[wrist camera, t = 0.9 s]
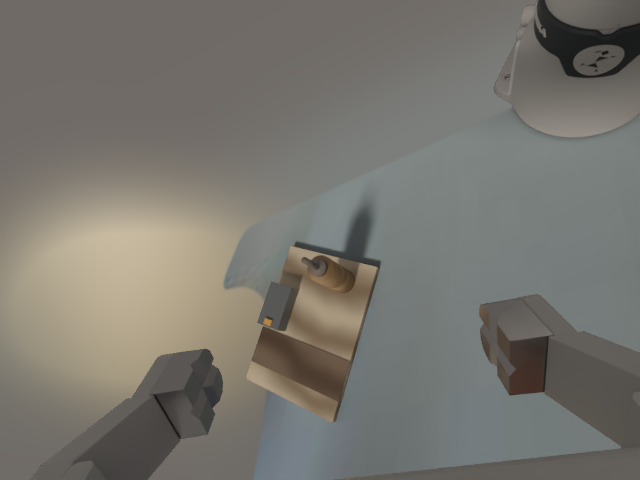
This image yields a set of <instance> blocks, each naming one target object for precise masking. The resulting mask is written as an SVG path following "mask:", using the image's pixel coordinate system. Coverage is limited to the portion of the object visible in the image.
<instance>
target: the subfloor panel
mask: <svg viewBox="0 0 640 480" xmlns="http://www.w3.org/2000/svg"><path fill="white" fill-rule="evenodd" d="M319 255H324V256H326V257H328V258H330V259H331V260H333V261H334V262H336V263H338V264H339V265H341V266H342V267H344V268H346V269H347V270H349V271H350V272H352V274H353V275H354V277H355V284H354V287H353V288H352V289H351V290H350V291H349V292H347V293H340V292H338V291H335V290H333V289H331V288H329V287H326V286H324V285H322V284H319V283H317V282H315V281H313V280H311V279H310V277H309V275H308V272H307V268H308V266H307V265H305V264H303V263H302V262H301V259H302V258H303V257H306V258H308V259H310V260H312V259H313V258H314V257H316V256H319ZM378 272H379V268H378V267H375V266H371V265H367V264H363V263H358V262H354V261H350V260H346V259H342V258H338V257H334V256H330V255H326V254H322V253H318V252H314V251H310V250H306V249H301V248H297V247H293V246H291V247H290V250H289V253H288V256H287V259H286V262H285V265H284V268H283V270H282V273H281V276H280V279H279V282H278V284H281V285H284V286H287V287H290V288H293V289H296V290H299V292H298V295H297V298H296V301H295V304H294V307H293V310H292V313H291V316H290V319H289V322H288V325H287V328H286V331H277V330H275V329H272V328H270V327H267V326H265V325H264V327H263V328H262V331H261V334H260V337H259V340H258V343H257V346H256V349H255V352H254V355H253V358H252V362H251V365H250V368H249V371H248V374H247V377H246V379H248V380H250V381H252V382H254V383H256V384H258V385H260V386H262V387H264V388H266V389H268V390H270V391H271V392H273V393H275V394H277V395H279V396H281V397H283V398H285V399H287V400H289V401H291V402H293V403H295V404H297V405H299V406H301V407H303V408H305V409H307V410H309V411H311V412H313V413H315V414H316V415H318V416H320V417H322V418H324V419H326V420H328V421H330V422H332V423H333V422H335V421H336V418H337V414H338V411H339V407H340V404H341V400H342V397H343V393H344V390H345V386H346V383H347V380H348V376H349V373H350V369H351V366H352V362H353V359H354V355H355V352H356V348H357V345H358V341H359V338H360V334H361V331H362V327H363V324H364V321H365V317H366V314H367V310H368V307H369V303H370V300H371V296H372V293H373V289H374V286H375V282H376V279H377V275H378Z"/></svg>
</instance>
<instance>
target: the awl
mask: <svg viewBox="0 0 640 480" xmlns="http://www.w3.org/2000/svg"><path fill="white" fill-rule="evenodd" d="M301 262H302V263H303V264H305V265H307V266H308V268H307V272H308V275H309V277H310V279H311V280H313V281H315V282H317V283H319V284H322V285H324V286H326V287H329V288H331V289H333V290H335V291H338V292H340V293H347V292H349V291H350V290H351V289H352V288H353V287H354V284H355V277H354V275H353V274H352V272H350V271H349V270H347V269H346V268H344V267H342V266H341V265H339V264H338V263H336V262H334V261H333V260H331V259H330V258H328V257H326V256H324V255H319V256H316V257H314V258H313V259H312V260H310V259H308V258H306V257H303V258H302V259H301Z"/></svg>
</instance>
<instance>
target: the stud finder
mask: <svg viewBox="0 0 640 480" xmlns="http://www.w3.org/2000/svg"><path fill="white" fill-rule="evenodd" d="M298 292H299V290H296V289H293V288H290V287H287V286H284V285H281V284H278V283H275V282H272V281H271V284H270V287H269V290H268V293H267V296H266V299H265V302H264V305H263V308H262V310H261V313H260V316H259V320H258V323H260V324H262V325H265V326H267V327H270V328H272V329H275V330H277V331H286V328H287V325H288V322H289V319H290V316H291V313H292V310H293V307H294V304H295V301H296V298H297V295H298Z"/></svg>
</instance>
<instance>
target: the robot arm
mask: <svg viewBox="0 0 640 480" xmlns="http://www.w3.org/2000/svg"><path fill="white" fill-rule="evenodd" d="M521 26H522V27H520V28H519V29H518V32H517V36H516V40H517V41H516V43H515V45H514V47H513V49H512V51H511V53H510V55H509V57H508V59H507V61H506V63H505V65H504V67H503V68H502V70H501V73H500V74H499V77H498V79H497V80H496V83H495V87H494V92H495V93H496V95H498V96H499V97H501V98H502V99H504V100H506V101H507V102H509V103H511V105H512V106H513V108H514V109H515V111H516V112H517V114H518V115H519V117H520V118H521V119H522V120H523V121H524V122H525V123H527V124H528V125H529V126H531V127H532V128H534V129H536V130H538V131H541V132H543V133H546V134H550V135H554V136H560V137H586V136H592V135H597V134H601V133H605V132H608V131H610V130H613V129H615V128H618V127H620V126H622V125H624V124H625V123H627V122H629V121H630V120H632V119H633V118H635V117H636V116H637V115H638V114H639V113H640V0H537V1H536V3H535V5H527V6H526V7H525V9H524V12H523V15H522V19H521ZM506 78H510V79H509V80H506ZM480 318H481V319H482V321H483V322H484V324H483V326H482V327H481V328H480V334H481V341H482V345H483V349H484V351H485V353H486V356H487V357H488V359H489V361H490V363H492V364H494V365H496V366H497V373H498V377H499V378H500V380H501V382H502V384H503V385H504V387H505V389H506V390H507V392H508V394H509V395H519V394H529V393H539V392H545V394H546V395H547V396H549V397H550V398H552V399H553V400H555V401H556V402H558V403H559V404H561V405H562V406H563V407H565V408H566V409H568V410H569V411H571V412H572V413H574V414H575V415H577V416H578V417H579V418H581V419H582V420H584V421H585V422H587V423H588V424H590V425H591V426H593V427H594V428H595V429H597V430H598V431H600V432H601V433H603V434H604V435H606V436H607V437H609V438H610V439H611V440H613V441H614V442H616V443H617V444H619V445H620V446H621V449H613V450H604V451H595V452H585V453H576V454H567V455H558V456H548V457H539V458H530V459H520V460H511V461H502V462H493V463H484V464H475V465H465V466H456V467H447V468H438V469H429V470H420V471H410V472H401V473H392V474H383V475H374V476H365V477H355V478H346V479H337V480H640V353H639V352H636V351H634V350H631V349H629V348H626V347H623V346H621V345H618V344H616V343H613V342H611V341H608V340H605V339H603V338H600V337H598V336H595V335H592V334H590V333H587V332H585V331H583V332H577V331H576V330H575V329H574V328H573V327H572V326H571V325H570V324H569V323H568V322H567V321H566V320H565V319H564V318H563V317H562V316H561V315H560V314H559V313H558V312H557V311H556V310H555V309H554V308H553V307H552V306H551V305H550V304H549V303H548V302H547V301H546V300H545V299H544V298H543V297H542V296H540V295H538V294H535V295H530V296H524V297H519V298H516V299H510V300H504V301H498V302H492V303H486V304H481V305H480ZM213 359H214V358H213V356H212V354H211V352H210V350H207V349H200V350H194V351H186V352H179V353H173V354H166V355H162V356H160V357H158V358H157V359H156V360H155V362H154V364H153V365H152V367H151V368H150V370H149V371H148V373H147V375H146V376H145V378H144V379H143V381H142V383H141V384H140V385H139V387H138V389H137V390H136V392H135V393H134V395H133V397H132V398H129V399H126V400H125V401H123V402H122V403H121V404H119V405H118V406H117V407H115V408H114V409H113V410H112V411H110V412H109V413H108V414H106V415H105V416H104V417H103V418H101V419H100V420H99V421H98V422H96V423H95V424H94V425H92V426H91V427H90V428H88V429H87V430H86V431H85V432H83V433H82V434H81V435H79V436H78V437H77V438H76V439H74V440H73V441H72V442H70V443H69V444H68V445H67V446H65V447H64V448H63V449H61V450H60V451H59V452H58V453H56V454H55V455H54V456H53V457H51V458H50V459H49V460H47V461H46V462H45V463H43V464H42V465H41V466H40V467H39V469H38V470H37V471H36V473H35V474H34V475H33V476H32V478H31V479H30V480H148V479H149V477H150V476H151V475H152V474H153V472H154V471H155V470H156V469H157V468H158V467H159V466H160V464H161V463H162V462H163V461H164V460H165V458H166V457H167V456H168V455H169V454H170V452H171V451H172V450H173V449H174V448H175V446H176V445H177V444H178V443H179V442H180V439H184V438H191V437H197V436H203V435H207V434H208V432H209V430H210V427H211V424H212V421H213V418H214V416H215V413H214V411H213V407H214V406H215V405H216V404H217V403H218V402H219V401H220V398H221V395H222V389H223V380H222V375H221V373H220V371H219V369H218V368H216V367H215V366H213V365H212V362H213Z"/></svg>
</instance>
